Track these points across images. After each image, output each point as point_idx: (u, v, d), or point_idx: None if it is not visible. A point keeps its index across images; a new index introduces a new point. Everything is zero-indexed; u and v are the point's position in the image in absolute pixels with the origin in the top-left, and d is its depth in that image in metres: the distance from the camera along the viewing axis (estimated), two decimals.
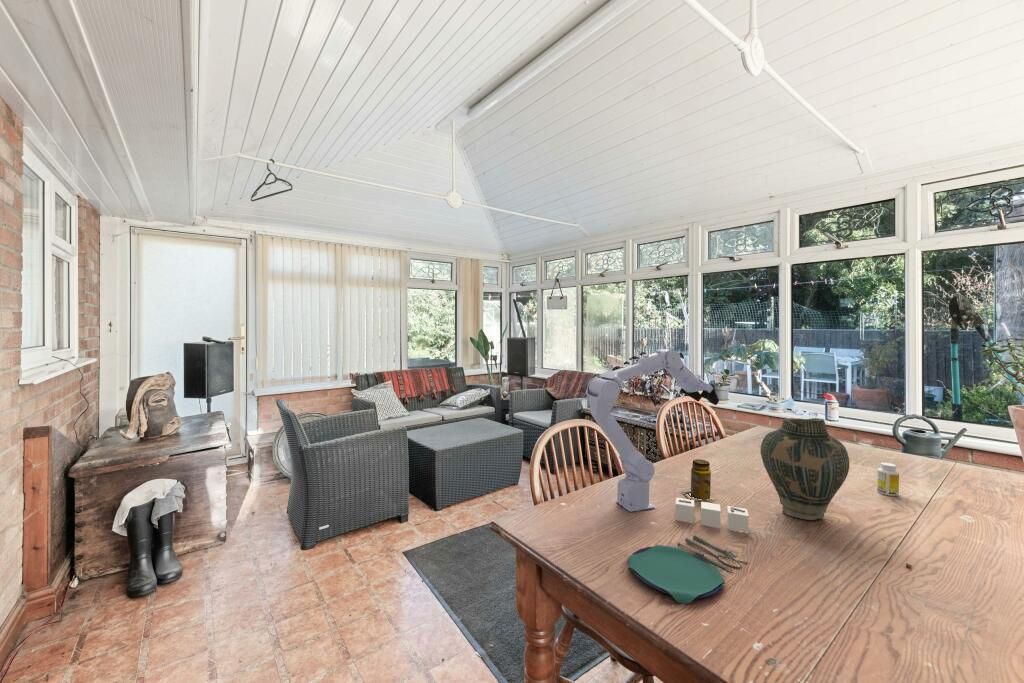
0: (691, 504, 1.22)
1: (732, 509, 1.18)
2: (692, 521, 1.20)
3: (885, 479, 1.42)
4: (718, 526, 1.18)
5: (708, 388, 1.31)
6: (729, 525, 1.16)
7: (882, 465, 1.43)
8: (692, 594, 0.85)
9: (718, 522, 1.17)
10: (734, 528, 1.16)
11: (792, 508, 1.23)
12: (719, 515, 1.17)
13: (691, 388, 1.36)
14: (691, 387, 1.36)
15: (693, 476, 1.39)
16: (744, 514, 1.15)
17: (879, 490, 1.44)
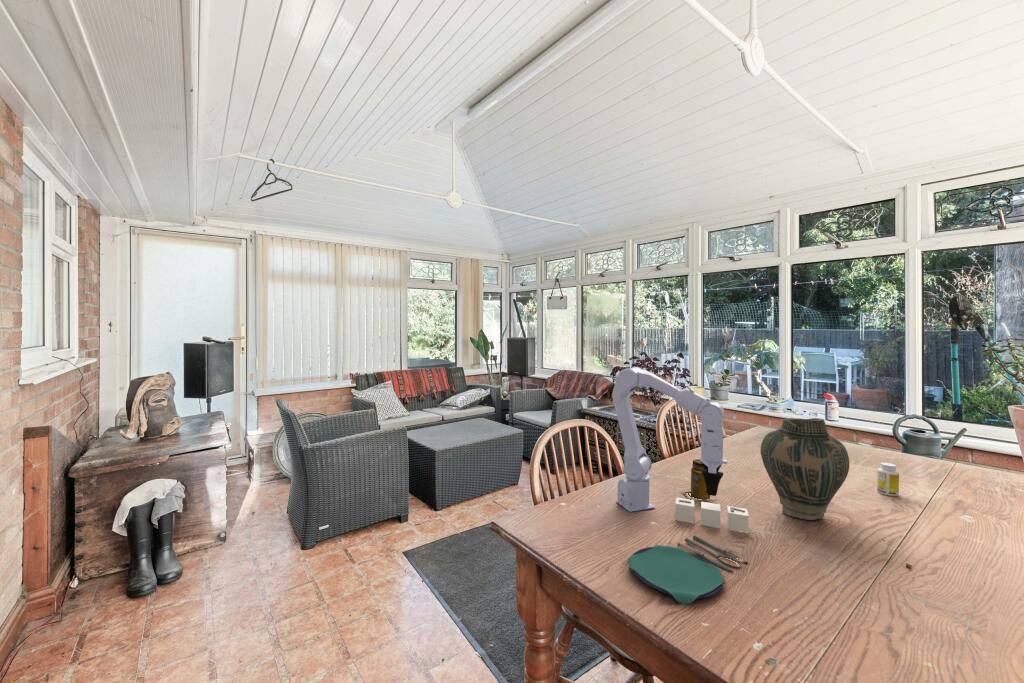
0: (691, 504, 1.22)
1: (732, 509, 1.18)
2: (692, 521, 1.20)
3: (885, 479, 1.42)
4: (718, 526, 1.18)
5: (710, 467, 1.14)
6: (729, 525, 1.16)
7: (882, 465, 1.43)
8: (693, 594, 0.85)
9: (718, 522, 1.17)
10: (734, 528, 1.16)
11: (792, 508, 1.23)
12: (719, 515, 1.17)
13: (703, 457, 1.19)
14: (704, 456, 1.19)
15: (693, 476, 1.39)
16: (744, 514, 1.15)
17: (879, 490, 1.44)
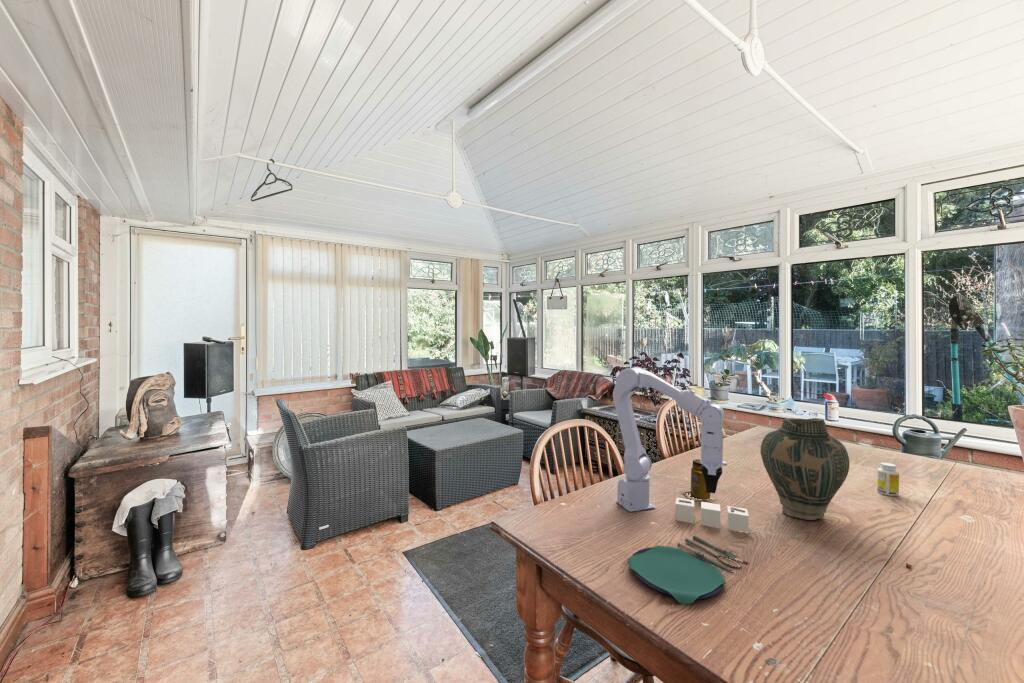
0: (691, 504, 1.22)
1: (732, 509, 1.18)
2: (692, 521, 1.20)
3: (885, 479, 1.42)
4: (718, 526, 1.18)
5: (710, 469, 1.14)
6: (729, 525, 1.16)
7: (882, 465, 1.43)
8: (694, 594, 0.85)
9: (718, 522, 1.17)
10: (734, 528, 1.16)
11: (792, 508, 1.23)
12: (719, 515, 1.17)
13: (703, 459, 1.19)
14: (704, 458, 1.19)
15: (693, 476, 1.39)
16: (744, 514, 1.15)
17: (879, 490, 1.44)
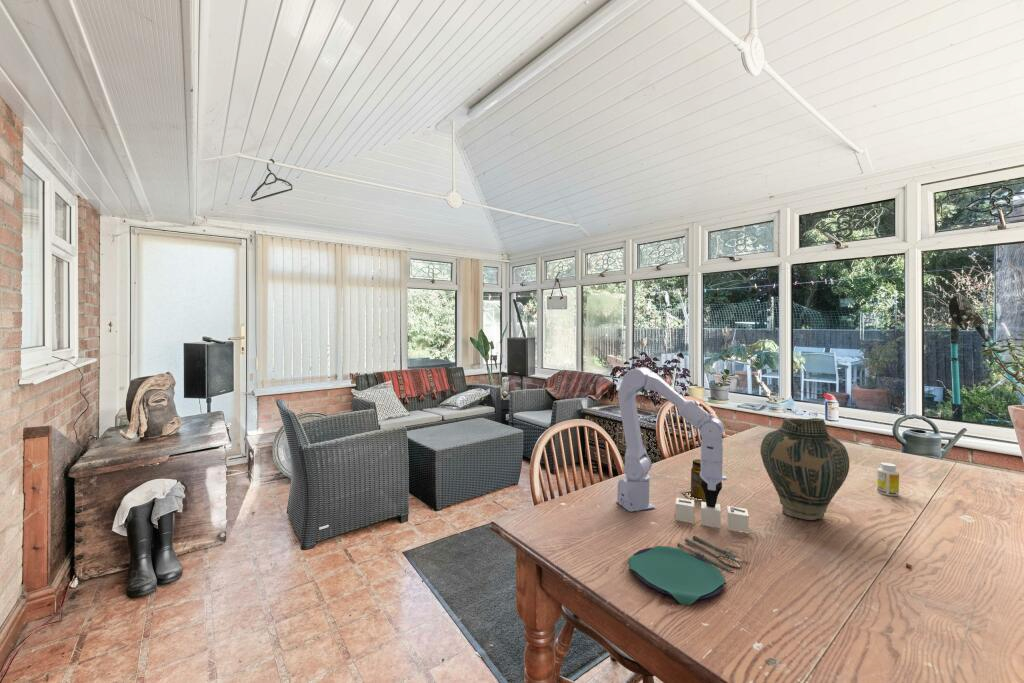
0: (691, 504, 1.22)
1: (732, 509, 1.18)
2: (692, 521, 1.20)
3: (885, 479, 1.42)
4: (718, 526, 1.18)
5: (709, 484, 1.14)
6: (729, 525, 1.16)
7: (882, 465, 1.43)
8: (694, 595, 0.85)
9: (718, 522, 1.17)
10: (734, 528, 1.16)
11: (792, 508, 1.23)
12: (719, 515, 1.17)
13: (703, 474, 1.19)
14: (704, 473, 1.19)
15: (693, 476, 1.39)
16: (744, 514, 1.15)
17: (879, 490, 1.44)
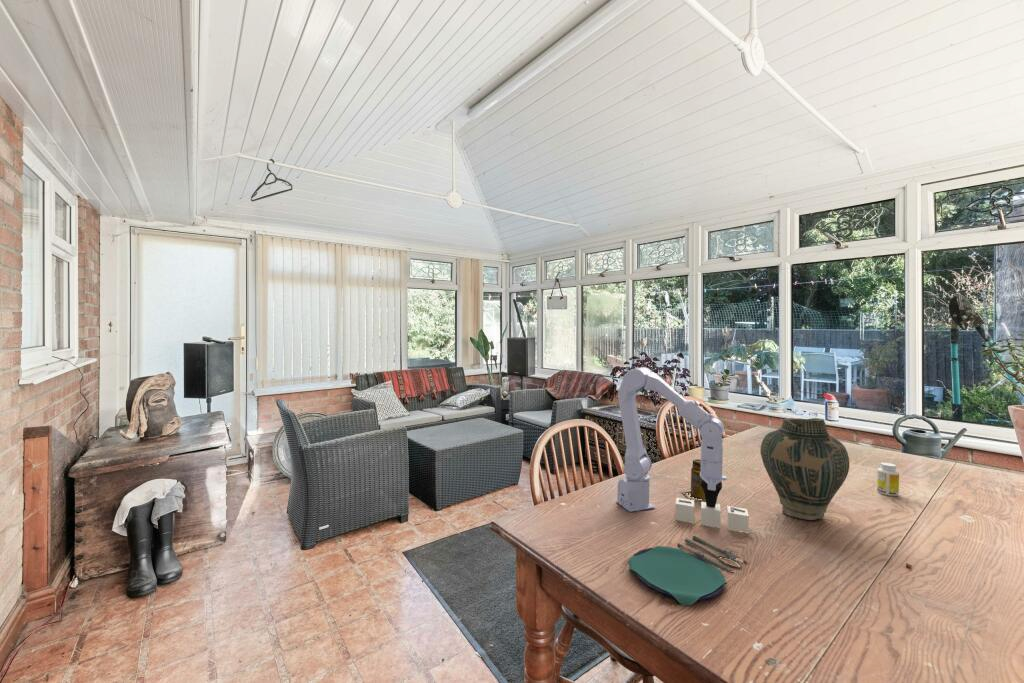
0: (691, 504, 1.22)
1: (732, 509, 1.18)
2: (692, 521, 1.20)
3: (885, 479, 1.42)
4: (718, 526, 1.18)
5: (709, 484, 1.14)
6: (729, 525, 1.16)
7: (882, 465, 1.43)
8: (695, 595, 0.85)
9: (718, 522, 1.17)
10: (734, 528, 1.16)
11: (792, 508, 1.23)
12: (719, 515, 1.17)
13: (703, 474, 1.19)
14: (704, 473, 1.19)
15: (693, 476, 1.39)
16: (744, 514, 1.15)
17: (879, 490, 1.44)
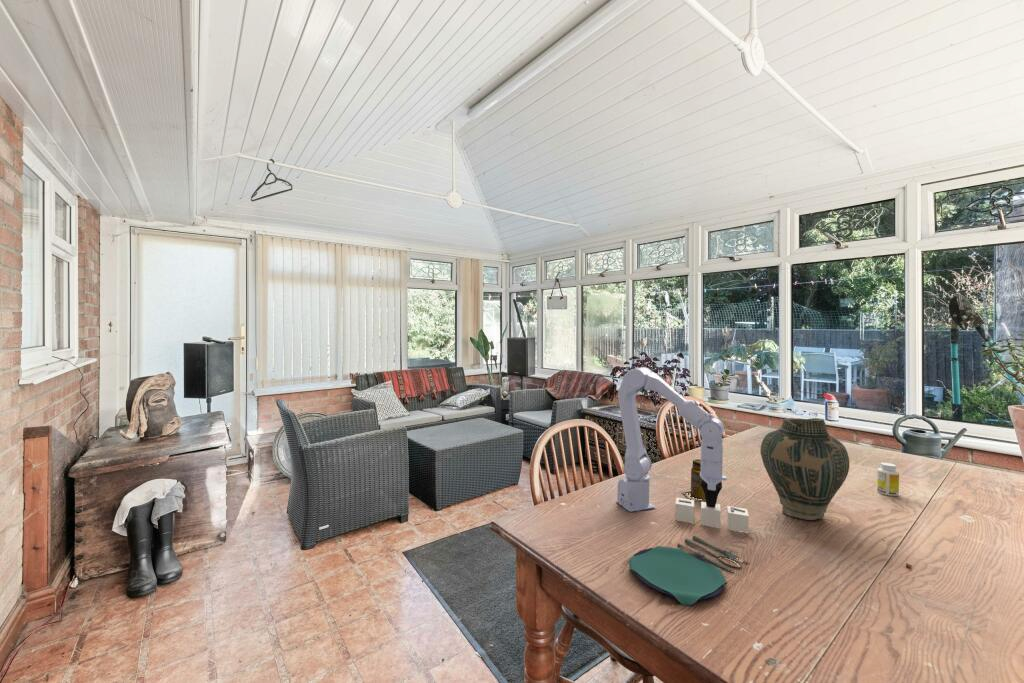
0: (691, 504, 1.22)
1: (732, 509, 1.18)
2: (692, 521, 1.20)
3: (885, 479, 1.42)
4: (718, 526, 1.18)
5: (709, 484, 1.14)
6: (729, 525, 1.16)
7: (882, 465, 1.43)
8: (695, 595, 0.85)
9: (718, 522, 1.17)
10: (734, 528, 1.16)
11: (792, 508, 1.23)
12: (719, 515, 1.17)
13: (703, 474, 1.19)
14: (704, 473, 1.19)
15: (693, 476, 1.39)
16: (744, 514, 1.15)
17: (879, 490, 1.44)
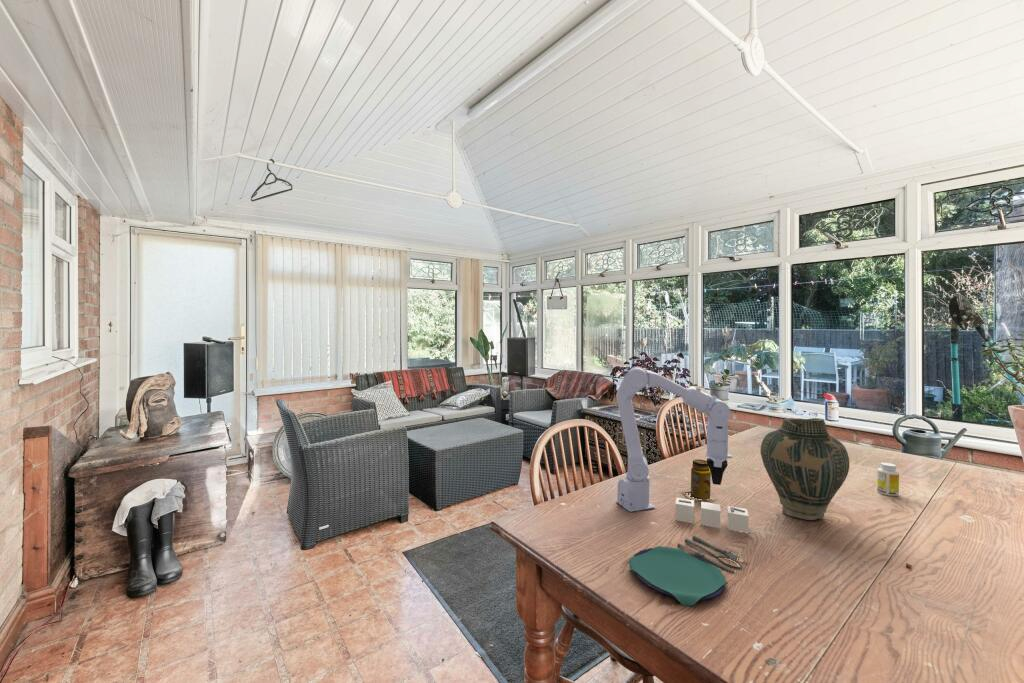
0: (691, 504, 1.22)
1: (732, 509, 1.18)
2: (692, 521, 1.20)
3: (885, 479, 1.42)
4: (718, 526, 1.18)
5: (716, 461, 1.19)
6: (729, 525, 1.16)
7: (882, 465, 1.43)
8: (696, 595, 0.84)
9: (718, 522, 1.17)
10: (734, 528, 1.16)
11: (792, 508, 1.23)
12: (719, 515, 1.17)
13: (709, 452, 1.25)
14: (710, 451, 1.25)
15: (693, 476, 1.39)
16: (744, 514, 1.15)
17: (879, 490, 1.44)
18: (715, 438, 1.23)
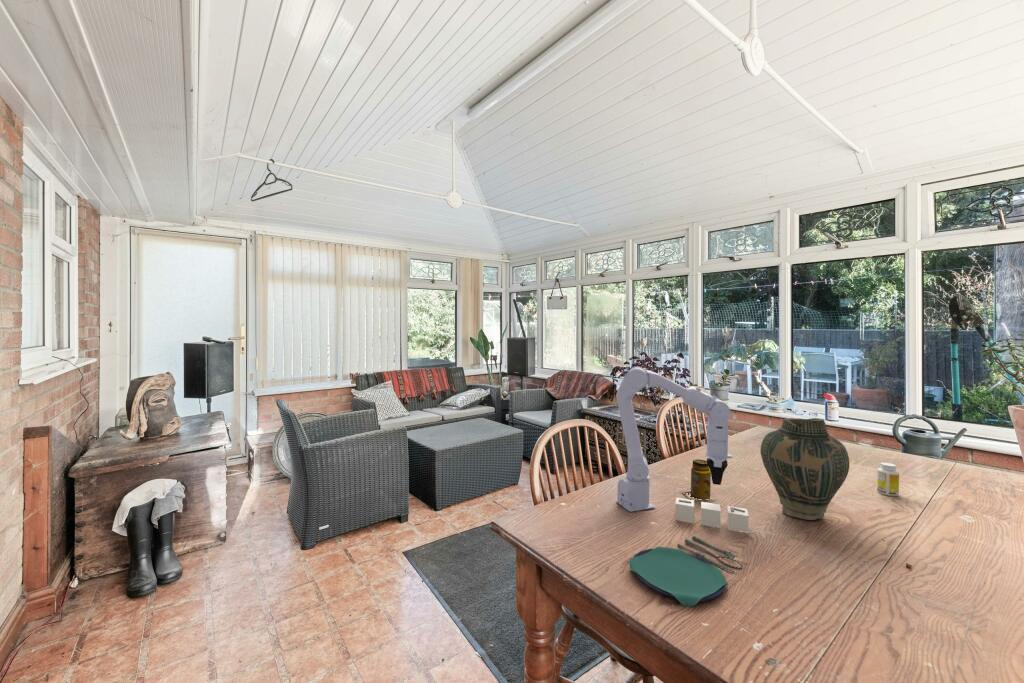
0: (691, 504, 1.22)
1: (732, 509, 1.18)
2: (692, 521, 1.20)
3: (885, 479, 1.42)
4: (718, 526, 1.18)
5: (716, 461, 1.19)
6: (729, 525, 1.16)
7: (882, 465, 1.43)
8: (697, 596, 0.84)
9: (718, 522, 1.17)
10: (734, 528, 1.16)
11: (792, 508, 1.23)
12: (719, 515, 1.17)
13: (709, 452, 1.25)
14: (710, 451, 1.25)
15: (693, 476, 1.39)
16: (744, 514, 1.15)
17: (879, 490, 1.44)
18: (715, 438, 1.23)
